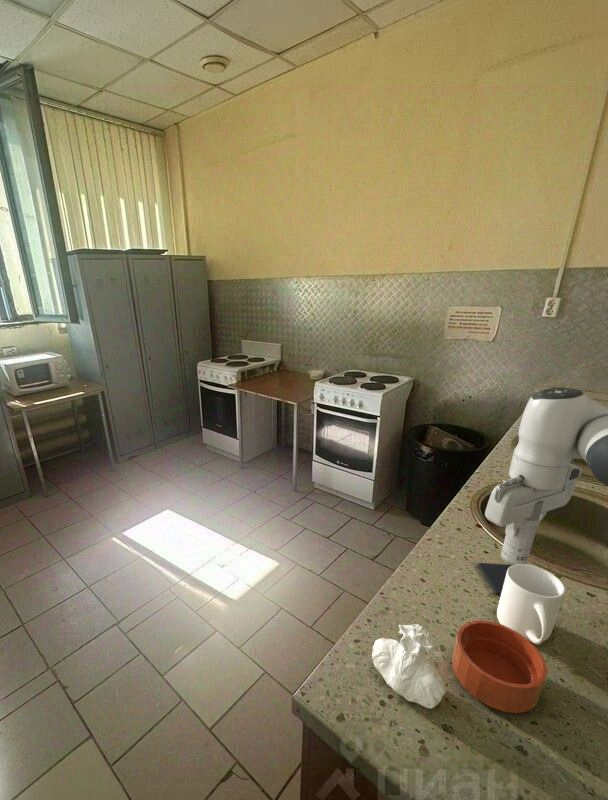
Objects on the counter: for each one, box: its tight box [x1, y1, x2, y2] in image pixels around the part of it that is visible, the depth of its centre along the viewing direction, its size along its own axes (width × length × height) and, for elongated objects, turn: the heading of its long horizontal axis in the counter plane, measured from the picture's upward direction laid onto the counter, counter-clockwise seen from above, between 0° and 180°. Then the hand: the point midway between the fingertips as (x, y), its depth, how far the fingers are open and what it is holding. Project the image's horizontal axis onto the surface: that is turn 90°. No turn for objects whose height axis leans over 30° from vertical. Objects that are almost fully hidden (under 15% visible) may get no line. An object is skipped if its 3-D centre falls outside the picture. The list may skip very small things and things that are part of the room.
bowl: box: [451, 619, 548, 714], centre depth 64 cm, size 12×12×6 cm
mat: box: [477, 562, 512, 596], centre depth 85 cm, size 9×9×1 cm
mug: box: [496, 563, 566, 646], centre depth 71 cm, size 9×12×11 cm
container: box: [500, 501, 543, 565], centre depth 81 cm, size 5×5×15 cm
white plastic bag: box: [371, 623, 447, 710], centre depth 63 cm, size 12×8×11 cm
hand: (521, 531), depth 81 cm, fingers closed on container, 4 cm apart
